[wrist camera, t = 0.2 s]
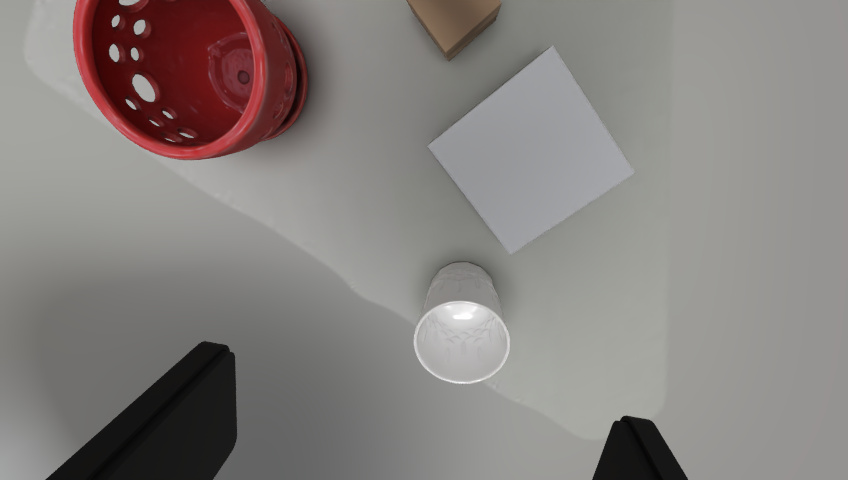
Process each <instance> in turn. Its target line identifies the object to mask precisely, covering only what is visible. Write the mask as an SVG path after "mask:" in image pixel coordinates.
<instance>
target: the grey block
mask: <svg viewBox="0 0 848 480" xmlns="http://www.w3.org/2000/svg"><path fill="white" fill-rule="evenodd" d="M428 148H429V149H430V150H431V152H432V153H433V154H434V155H435V157H436V158H437V159H438V161H439V162H440V163H441V165H442V166H443V167H444V169H445V170H446V171H447V173H448V174H449V175H450V176H451V178H452V179H453V180H454V182H455V183H456V184H457V186H458V187H459V188H460V190H461V191H462V192H463V194H464V195H465V196H466V198H467V199H468V200H469V201H470V203H471V204H472V205H473V207H474V208H475V209H476V211H477V212H478V213H479V215H480V216H481V217H482V219H483V220H484V221H485V222H486V224H487V225H488V226H489V228H490V229H491V230H492V232H493V233H494V234H495V236H496V237H497V238H498V240H499V241H500V242H501V244H502V245H503V246H504V247H505V249H506V250H507V251H508V253H509V254H510V255H511V254H513V253H514V252H516V251H517V250H519V249H520V248H522V247H523V246H525V245H526V244H528V243H529V242H531V241H532V240H534V239H535V238H537V237H538V236H540V235H542V234H543V233H545V232H546V231H548V230H549V229H551V228H552V227H554V226H555V225H557V224H558V223H560V222H561V221H563V220H564V219H566V218H567V217H569V216H570V215H572V214H574V213H575V212H577V211H578V210H580V209H581V208H583V207H584V206H586V205H587V204H589V203H590V202H592V201H593V200H595V199H596V198H598V197H599V196H601V195H602V194H604V193H605V192H607V191H609V190H610V189H612V188H613V187H615V186H616V185H618V184H619V183H621V182H622V181H624V180H625V179H627V178H628V177H630V176H631V175H633V174H634V173H635V172H634V170H633V169H632V167H631V166H630V164H629V163H628V161H627V160H626V158H625V156H624V155H623V153H622V152H621V150H620V149H619V147H618V146H617V144H616V142H615V141H614V139H613V138H612V136H611V135H610V133H609V132H608V130H607V129H606V127H605V125H604V124H603V122H602V121H601V119H600V118H599V116H598V115H597V113H596V111H595V110H594V108H593V107H592V105H591V104H590V102H589V101H588V99H587V97H586V96H585V94H584V93H583V91H582V90H581V88H580V87H579V85H578V84H577V82H576V80H575V79H574V77H573V76H572V74H571V73H570V71H569V70H568V68H567V66H566V65H565V63H564V62H563V60H562V59H561V57H560V56H559V54H558V52H557V51H556V49H555V48H554V46H551V47H550V48H548V49H547V50H545V51H544V52H543V53H541V54H540V55H539V56H537V57H536V58H535V59H534V60H532V61H531V62H530V63H529V64H527V65H526V66H525V67H524V68H522V69H521V70H520V71H519V72H517V73H516V74H515V75H514V76H512V77H511V78H510V79H509V80H507V81H506V82H505V83H504V84H502V85H501V86H500V87H499V88H498V89H496V90H495V91H494V92H493V93H491V94H490V95H489V96H488V97H486V98H485V99H484V100H483V101H481V102H480V103H479V104H478V105H476V106H475V107H474V108H473V109H471V110H470V111H469V112H468V113H466V114H465V115H464V116H463V117H461V118H460V119H459V120H458V121H456V122H455V123H454V124H453V125H451V126H450V127H449V128H448V129H446V130H445V131H444V132H443V133H441V134H440V135H439V136H438V137H436V138H435V139H434V140H433V141H432V142H431V143H430V144H429V145H428Z"/></svg>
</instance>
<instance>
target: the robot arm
mask: <svg viewBox="0 0 848 480" xmlns="http://www.w3.org/2000/svg"><path fill="white" fill-rule="evenodd" d="M236 439H237V417H236V379H235V355H234V353H232V352H230V350H229V348H228V346H227V345H223V344H217V343H212V342H206V341H204V342H201V343H200V344H198V345H197V346H196V347H195V348H194V349H193V350H191V351H190V352H189V353H188V354H187V355H186V356H185V357H184V358H182V359H181V360H180V361H179V362H178V363H177V364H176V365H175V366H173V367H172V368H171V369H170V370H169V371H168V372H167V373H165V374H164V375H163V376H162V377H161V378H160V379H159V380H157V381H156V382H155V383H154V384H153V385H152V386H151V387H150V388H148V389H147V390H146V391H145V392H144V393H143V394H142V395H141V396H139V397H138V398H137V399H136V400H135V401H134V402H133V403H132V404H130V405H129V406H128V407H127V408H126V409H125V410H124V411H123V412H121V413H120V414H119V415H118V416H117V417H116V418H115V419H113V420H112V421H111V422H110V423H109V424H108V425H107V426H106V427H105V428H103V429H102V430H101V431H100V432H99V433H98V434H97V435H95V436H94V437H93V438H92V439H91V440H90V441H89V442H88V443H86V444H85V445H84V446H83V447H82V448H81V449H80V450H78V451H77V452H76V453H75V454H74V455H73V456H72V457H71V458H69V459H68V460H67V461H66V462H65V463H64V464H63V465H62V466H60V467H59V468H58V469H57V470H56V471H55V472H54V473H53V474H51V475H50V476H49V477H48V478H47V479H46V480H213V479H214V477H215V475H216V474H217V473H218V471H219V470H220V468H221V466H222V465H223V464H224V462H225V461H226V459H227V458H228V456H229V455H230V453H231V451H232V450H233V448H234V446H235V443H236ZM592 480H688V479H687V477H686V475H685V474H684V472H683V470H682V469H681V467H680V465H679V464H678V462H677V460H676V459H675V457H674V455H673V454H672V452H671V450H670V449H669V447H668V445H667V444H666V442H665V440H664V439H663V437H662V436H661V434H660V432H659V431H658V429H657V428H656V426H655V424H654V423H653V422H652V421H651V420H648V419H642V418H636V417H631V416H623V417H622V418H621V420H620V421H615V422H614V423H613V425H612V427H611V430H610V433H609V435H608V438H607V441H606V444H605V446H604V449H603V452H602V455H601V458H600V460H599V463H598V465H597V468H596V471H595V474H594V476H593V479H592Z"/></svg>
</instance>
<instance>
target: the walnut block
mask: <svg viewBox="0 0 848 480" xmlns="http://www.w3.org/2000/svg"><path fill="white" fill-rule="evenodd" d="M407 2H408V4H409V6H410V8H411V10H412V11H413V13H414V14H415V16H416V17H417V18H418V20H419V21H420V23H421V24H422V25H423V27H424V28H425V29H426V31H427V32H428V34H429V35H430V36H431V38H432V39H433V41H434V42H435V43H436V45H437V46H438V47H439V49H440V50H441V52H442V53H443V54H444V56H445V57H446V58H447V60H448V61H450V60H451V59H452V58H453V57H454V56H455V55H456V54H458V53H459V52H460V51H461V50H462V49H463V48H464V47H466V46H467V45H468V44H469V43H470V42H471V41H472V40H474V39H475V38H476V37H477V36H478V35H479V34H480V33H482V32H483V31H484V30H485V29H486V28H487V27H488V26H490V25H491V24H492V23H493V22H494V21H495V20H496V17H497V14H498V12H499V9H500V6H501V2H500V0H407Z"/></svg>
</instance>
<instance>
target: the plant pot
mask: <svg viewBox="0 0 848 480" xmlns="http://www.w3.org/2000/svg"><path fill="white" fill-rule="evenodd" d="M117 15H119V16H120V21H119V23H118V25H117V26H116V27H112V19H113V18H114V17H115V16H117ZM138 20H144V21H145V24H146V27H145V29H144V32H142V33H141V34H139V35H136V34H135V32H134V24H135V23H136V22H137V21H138ZM73 42H74V52H75V57H76V62H77V65H78V69H79V72H80V75H81V77H82V80H83V82H84V84H85V87H86V89H87V91H88V92H89V94H90V96H91V97H92V99H93V101H94V102H95V104H96V105H97V107H98V108H99V109H100V111H101V112H102V113H103V115H104V116H105V117H106V118H107V119H108V120H109V121H110V122H111V123H112V124H113V126H114V127H115V128H116V129H117V130H119V131H120V132H121V133H122V134H123V135H124V136H126V137H127V138H128V139H130V140H131V141H133V142H134V143H136V144H137V145H139V146H140V147H142V148H144V149H146V150H149V151H150V152H153V153H155V154H158V155H161V156H165V157H168V158H173V159H179V160H201V159H209V158H216V157H221V156H225V155H228V154H232V153H236V152H239V151H242V150H245V149H247V148H249V147H251V146H253V145H255V144H257V143H259V142H261V141H266V140H269V139H272V138H274V137H276V136H278V135H280V134H282V133H283V132H284V131H286V130H287V129H288V128H289V127H290V126H291V125H292V124H293V123H294V122H295V120H296V119H297V117H298V116H299V114H300V112H301V110H302V108H303V105H304V102H305V99H306V93H307V84H308V79H307V69H306V64H305V60H304V57H303V54H302V51H301V49H300V47H299V45H298V43H297V41H296V39H295V37H294V36H293V34H292V33H291V32H290V30H289V29H288V28H287V27H286V25H285V24H284V23H283V22H282V21H280V20H279V19H278V18H277V17H276V16H274V15H273V14H272V13H271V12H270V11H269V10H268V9H267V8H266V6H265V5H264V4H263V3H262V2H261V1H260V0H140V1H138V2H137V3H135V4H133V5H128V6H125V5H121V4H120V3H119V0H77V2H76V7H75V11H74V20H73ZM112 44H115V45H116V46H117V48H118V51H119V60H118V61H117V62H114V61H113V60H112V59H111V57H110V55H109V49H110V46H111V45H112ZM134 47H135V48H136V49H137V51H138V53H139V58H138V60H137V61H135V60H134V59H133V58H132V57H131V49H132V48H134ZM135 74H139V75H142V76H143V77H145V78H146V79H147V80H148V82H149V83H150V84H151V86H152V87H153V89H154V92H155V100H154V101H153V102H147V101H145V100H143V99H142V98H141V97H140V96H139V94H138V93H137V92H136V91H135V88H134V86H133V85H132V79H133V77H134V76H135ZM125 99H127V100H129V101H131V102H132V103H133V104H134V105H135V107H136V110H134V109H132V108H131V107H130V106H129V105H128V104H127V103H126V100H125ZM162 111H166V112H168V113H169V114H170V115H171V116H172V117H173V119H170V118H168V117H167V116H166V115H164V114H163V112H162ZM149 120H152V121H154V122H155V123H157V124H158V125H159V126H156V125H154V124H153V123H152V122H151V121H149ZM180 133H185V134H188V135H190V136H193V137H194V138H188V137H185V136H183V135H181V134H180ZM165 138H166V139H170V140H172V141H175V142H172V141H169V140H166V139H165Z"/></svg>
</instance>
